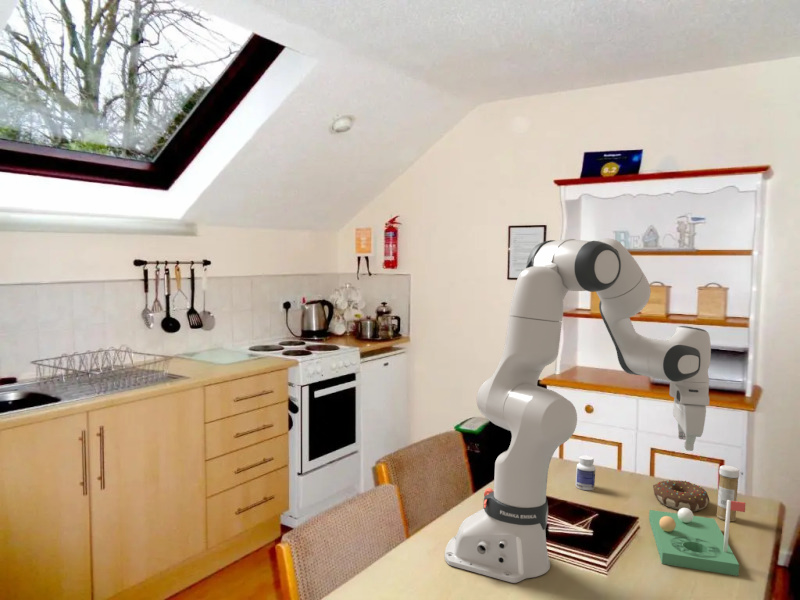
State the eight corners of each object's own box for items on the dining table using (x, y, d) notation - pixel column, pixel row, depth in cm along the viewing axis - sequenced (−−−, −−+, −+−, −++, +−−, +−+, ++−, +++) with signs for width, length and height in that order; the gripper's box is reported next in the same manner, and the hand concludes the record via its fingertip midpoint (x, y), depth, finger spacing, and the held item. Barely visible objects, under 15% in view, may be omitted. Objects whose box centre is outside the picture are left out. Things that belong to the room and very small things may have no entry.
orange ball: (660, 533, 142) (661, 518, 142) (658, 526, 146) (659, 512, 145) (676, 535, 141) (677, 520, 141) (673, 529, 145) (674, 514, 144)
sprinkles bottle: (739, 519, 158) (743, 469, 157) (729, 523, 155) (733, 472, 154) (721, 513, 161) (725, 463, 160) (712, 516, 159) (716, 466, 158)
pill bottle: (596, 491, 174) (598, 460, 173) (578, 490, 174) (580, 460, 173) (591, 484, 179) (592, 454, 178) (573, 483, 179) (574, 454, 178)
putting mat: (661, 563, 133) (666, 501, 132) (649, 519, 156) (652, 465, 155) (747, 577, 128) (752, 512, 127) (721, 529, 151) (725, 474, 150)
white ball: (678, 524, 148) (679, 510, 147) (676, 518, 151) (677, 504, 151) (694, 526, 147) (695, 512, 146) (691, 520, 150) (692, 506, 150)
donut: (714, 504, 168) (716, 486, 167) (698, 518, 158) (699, 500, 157) (662, 489, 177) (663, 472, 177) (643, 502, 167) (644, 484, 167)
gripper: (668, 381, 164) (665, 431, 165) (682, 398, 144) (678, 455, 145) (694, 383, 162) (691, 434, 163) (711, 400, 143) (707, 458, 144)
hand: (685, 444), depth 154 cm, fingers open, 8 cm apart
